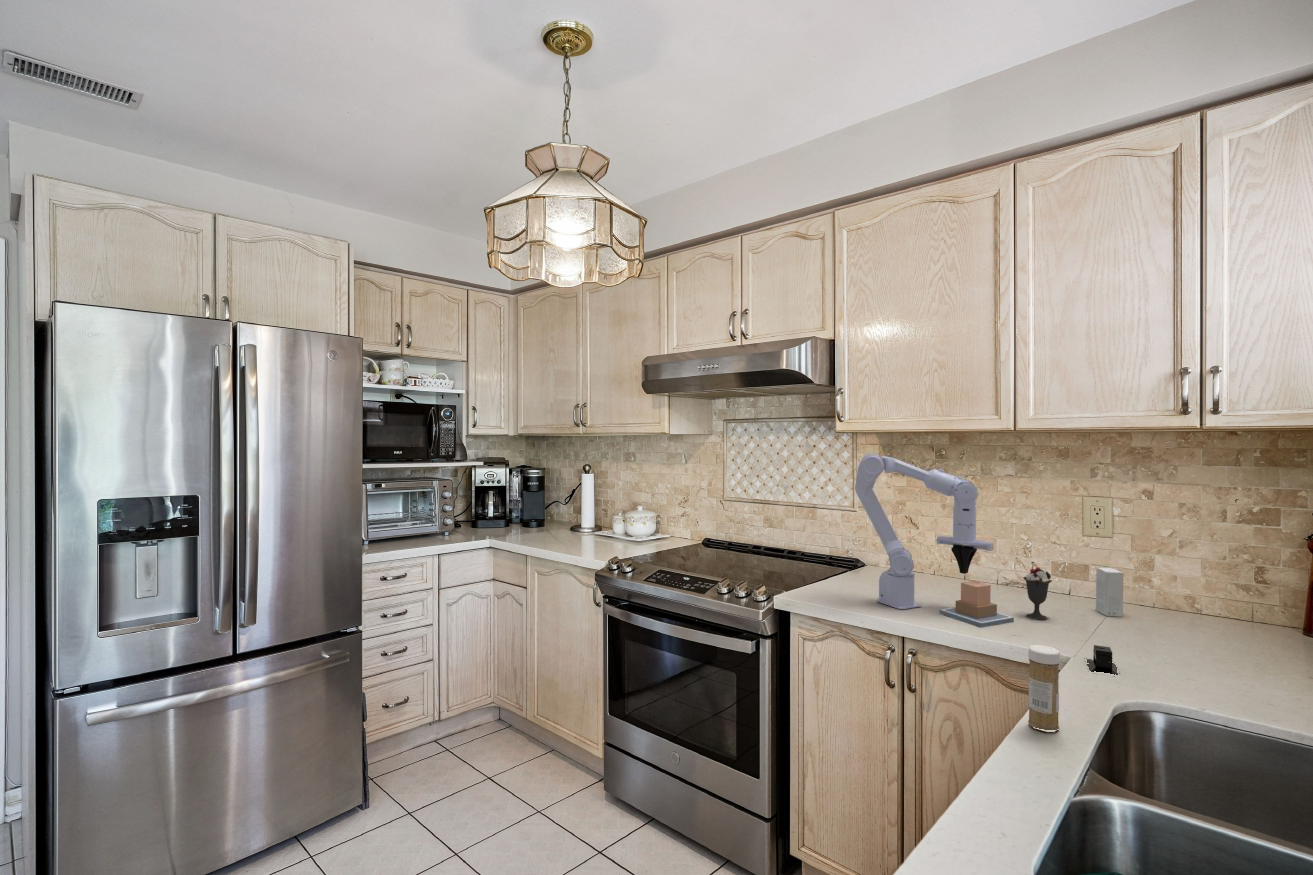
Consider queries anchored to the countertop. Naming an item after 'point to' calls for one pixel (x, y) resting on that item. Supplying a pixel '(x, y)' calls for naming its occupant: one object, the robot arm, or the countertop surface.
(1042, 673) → the sprinkles bottle
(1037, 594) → the sundae
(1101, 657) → the black blocky piece
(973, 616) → the blueprint board
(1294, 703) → the countertop surface
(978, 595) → the terracotta block
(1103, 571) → the skincare box
